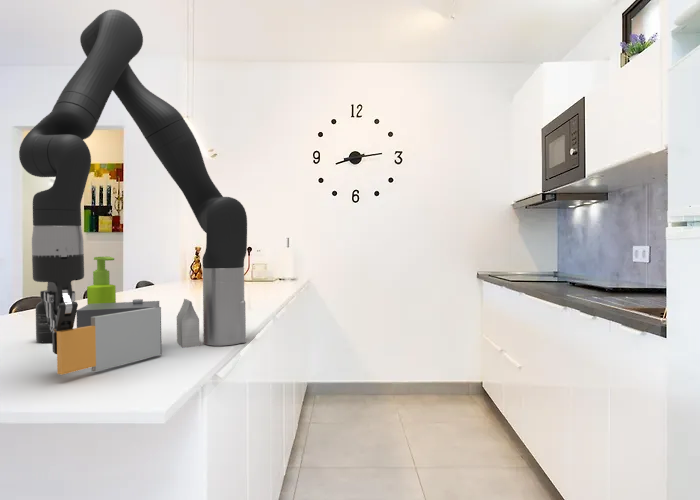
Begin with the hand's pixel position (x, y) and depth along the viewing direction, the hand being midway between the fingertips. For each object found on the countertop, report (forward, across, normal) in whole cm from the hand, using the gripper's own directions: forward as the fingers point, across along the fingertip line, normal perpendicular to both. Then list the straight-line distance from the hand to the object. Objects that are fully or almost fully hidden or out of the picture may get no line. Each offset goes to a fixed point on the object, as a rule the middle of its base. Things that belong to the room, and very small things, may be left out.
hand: (61, 353), depth 81 cm
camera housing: (+4, -11, +13) cm, 18 cm away
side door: (+4, +1, +8) cm, 9 cm away
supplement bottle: (+5, -37, +6) cm, 38 cm away
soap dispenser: (+5, -27, +14) cm, 31 cm away
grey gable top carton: (+5, -10, +27) cm, 29 cm away
